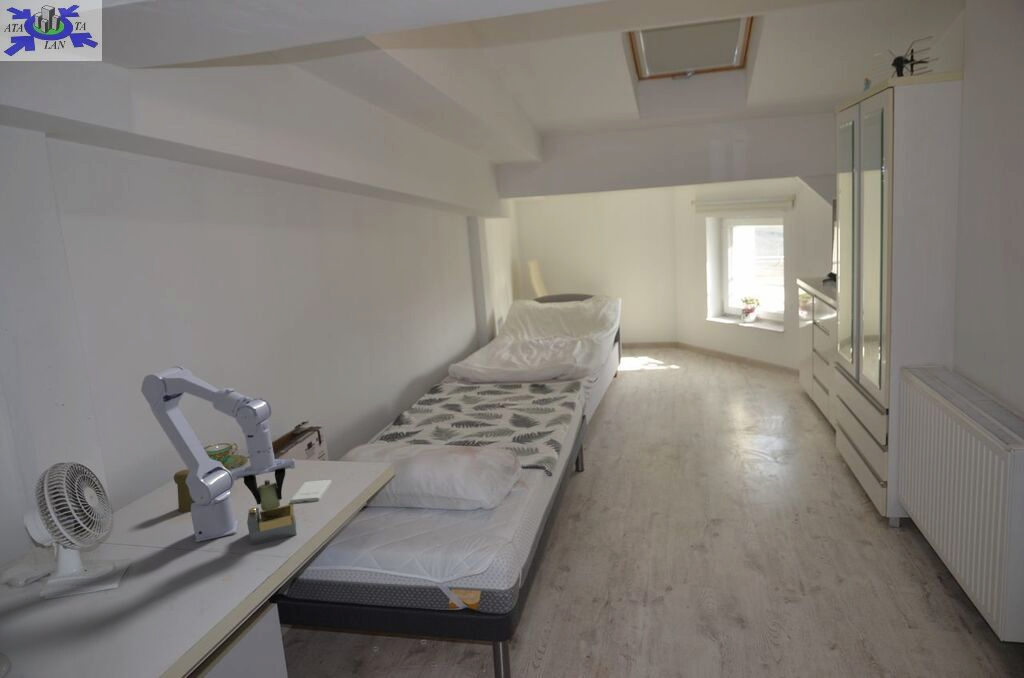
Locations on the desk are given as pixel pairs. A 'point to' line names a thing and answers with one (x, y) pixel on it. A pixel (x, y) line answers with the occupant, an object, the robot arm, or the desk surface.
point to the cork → (183, 491)
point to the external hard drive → (311, 491)
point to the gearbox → (271, 524)
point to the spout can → (268, 496)
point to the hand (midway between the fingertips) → (269, 500)
